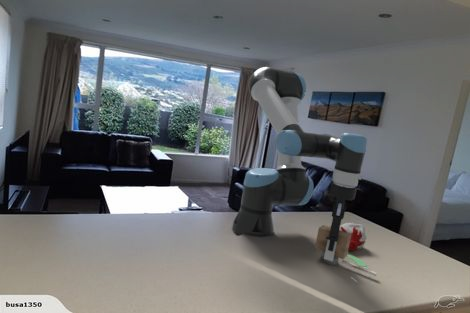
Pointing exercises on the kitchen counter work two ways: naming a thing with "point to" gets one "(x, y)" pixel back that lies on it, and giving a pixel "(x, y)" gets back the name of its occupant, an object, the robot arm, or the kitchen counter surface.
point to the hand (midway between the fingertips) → (329, 255)
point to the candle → (354, 235)
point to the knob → (340, 248)
